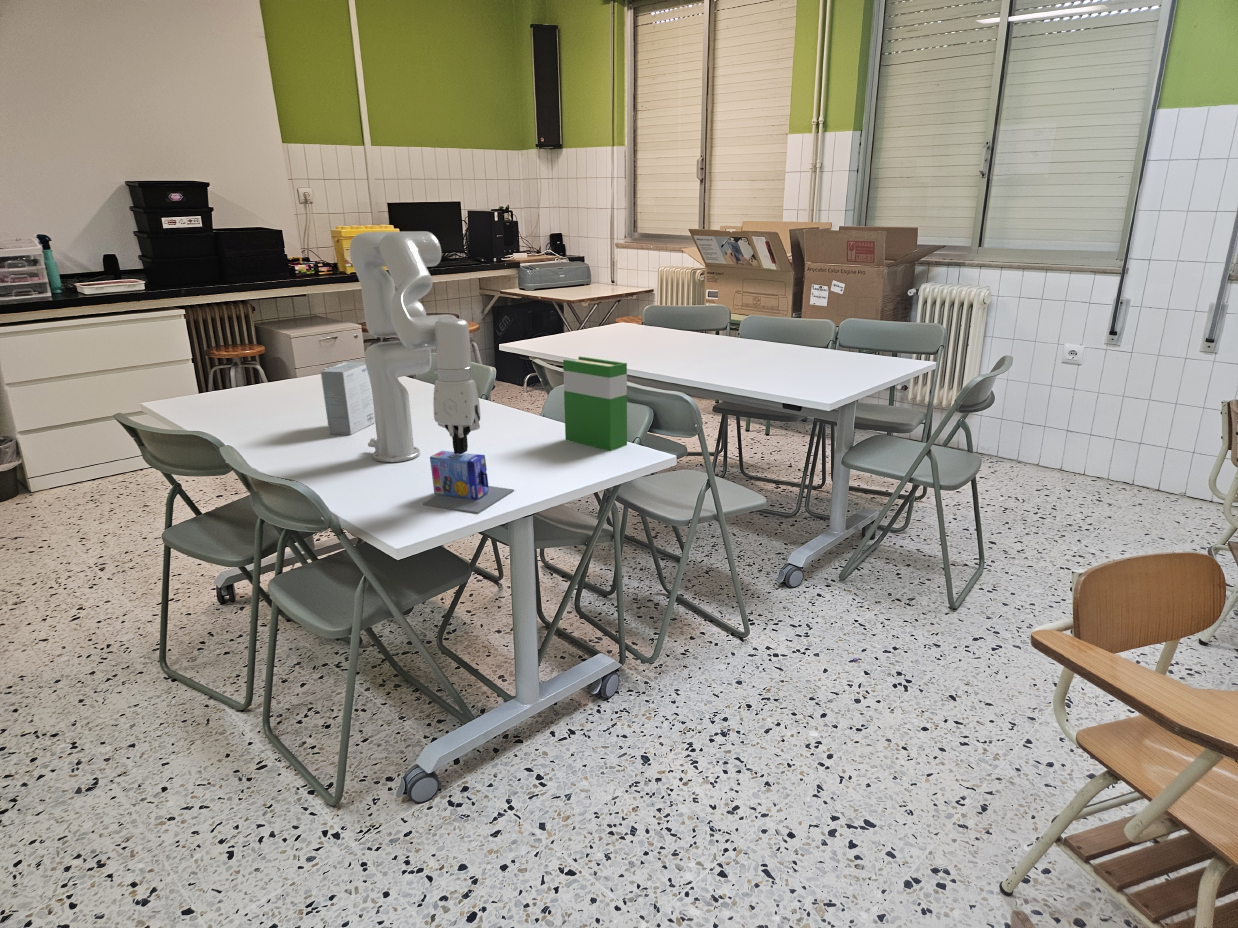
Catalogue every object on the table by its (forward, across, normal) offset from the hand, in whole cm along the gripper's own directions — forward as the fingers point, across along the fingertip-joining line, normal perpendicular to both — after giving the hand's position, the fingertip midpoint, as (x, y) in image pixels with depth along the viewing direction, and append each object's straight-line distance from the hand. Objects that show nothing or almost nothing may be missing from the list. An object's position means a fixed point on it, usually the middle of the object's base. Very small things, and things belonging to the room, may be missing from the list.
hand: (460, 452), depth 177 cm
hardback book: (+11, +10, +53) cm, 56 cm away
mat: (+11, +2, 0) cm, 11 cm away
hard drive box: (+11, -68, +40) cm, 80 cm away
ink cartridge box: (+6, -7, 0) cm, 9 cm away
